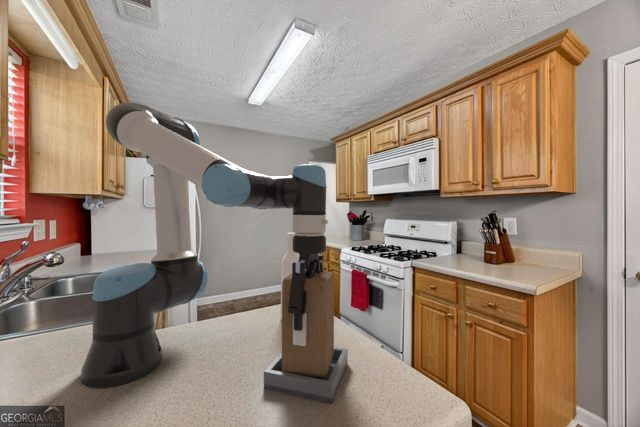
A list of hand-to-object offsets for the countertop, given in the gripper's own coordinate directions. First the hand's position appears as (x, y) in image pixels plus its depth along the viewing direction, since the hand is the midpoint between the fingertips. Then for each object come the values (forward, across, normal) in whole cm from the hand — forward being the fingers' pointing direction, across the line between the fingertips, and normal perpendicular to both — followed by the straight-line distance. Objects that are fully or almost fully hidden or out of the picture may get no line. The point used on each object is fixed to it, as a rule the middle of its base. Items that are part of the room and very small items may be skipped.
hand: (308, 333), depth 60 cm
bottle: (+10, +30, +17) cm, 35 cm away
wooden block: (+7, 0, 0) cm, 7 cm away
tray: (+9, 0, 0) cm, 9 cm away
